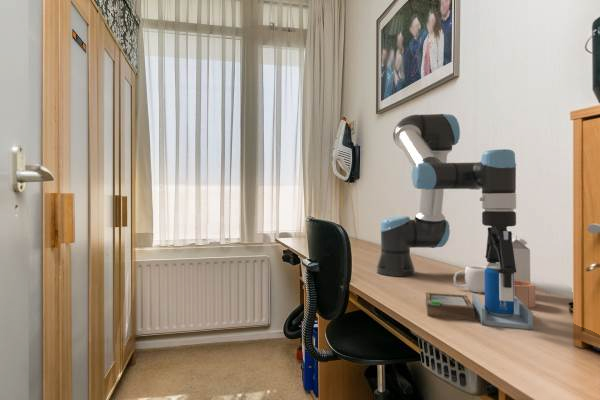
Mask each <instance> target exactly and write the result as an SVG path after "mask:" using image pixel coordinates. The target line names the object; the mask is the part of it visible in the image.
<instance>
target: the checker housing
mask: <svg viewBox="0 0 600 400" xmlns="http://www.w3.org/2000/svg"><path fill="white" fill-rule="evenodd" d="M431 295H440V296H453V297H463V299H464V301H465V302H466V304H467V306H462V305H449V304H440V301H439V300H431ZM425 307H426V315H427V317H437V318H447V319H456V318H457V319H460V320H469V321H474V320H475V312H474V307H473V305H472V301H471V299H469V297H468V295H466V294H465V295H464V294H452V293H451V294H450V293H435V292H425ZM457 319H456V320H457Z"/></svg>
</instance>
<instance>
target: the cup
mask: <svg viewBox="0 0 600 400" xmlns="http://www.w3.org/2000/svg"><path fill="white" fill-rule="evenodd" d="M514 296H516V297H517V298H518V299H519V300H520V301H521V302H522V303H523V304H524V305H525V306H526V307H527V308H529V309H530V308H534V307H535V308H536V284H534V283H533V282H531V281H530V282H526V281H520V280H514Z"/></svg>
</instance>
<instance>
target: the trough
mask: <svg viewBox="0 0 600 400" xmlns="http://www.w3.org/2000/svg"><path fill="white" fill-rule="evenodd" d="M471 299H472V300H471V304H472V305H473V307H474V314H475V316H476V317H477V318H478V321H479V322H480V324H481V326H491V327H502V328H510V329H511V328H512V329H520V330H521V329H522V330H532V331H533V330H534V313H533V311H532V310H531V309H530V308H527V307H526V306H525V305H524V304H523V303H522V302H521V301H520V300H519V299H518V298H517V297H516V296H514V314H512V315H510V316H509V317H500V316H495V315H492V314H489V313H488V311H486V310H485V304H483V303H482V301H481V300H480V299H479V297H478V295H477V294H476V292H472V293H471Z"/></svg>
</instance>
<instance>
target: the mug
mask: <svg viewBox="0 0 600 400" xmlns="http://www.w3.org/2000/svg"><path fill="white" fill-rule="evenodd" d="M486 268H487V266H484V265H469V266H468V265H467V266H466V267H465V270H458V271H457V272H455V274H454V275H453V284H454V285H455V286H456V287H457V288H460V289H462V288H466V287H467V289H468V291H470V292H472V293H477V294H478V293H479V294H485V269H486ZM459 274H464V281H465V284H463V285H461V284H458V283H457V276H458V275H459Z"/></svg>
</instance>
